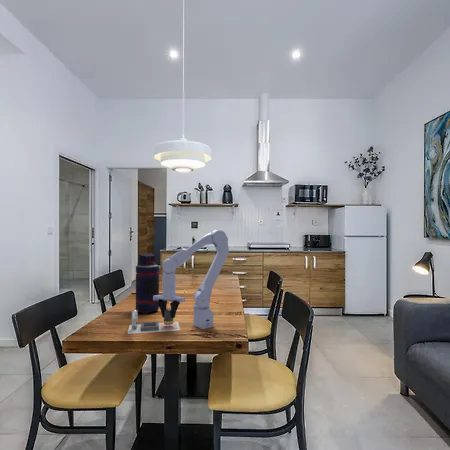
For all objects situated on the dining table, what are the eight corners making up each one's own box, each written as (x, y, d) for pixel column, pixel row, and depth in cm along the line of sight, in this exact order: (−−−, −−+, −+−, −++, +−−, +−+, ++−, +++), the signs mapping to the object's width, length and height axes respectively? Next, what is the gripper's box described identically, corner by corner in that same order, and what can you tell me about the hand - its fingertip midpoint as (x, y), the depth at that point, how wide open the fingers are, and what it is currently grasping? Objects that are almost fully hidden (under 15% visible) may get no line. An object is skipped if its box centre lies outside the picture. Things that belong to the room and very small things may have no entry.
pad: (176, 323, 144) (176, 323, 144) (177, 328, 137) (177, 328, 137) (160, 324, 142) (160, 324, 142) (160, 329, 135) (160, 329, 135)
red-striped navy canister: (163, 311, 167) (163, 254, 168) (144, 315, 159) (144, 255, 159) (148, 306, 177) (148, 252, 177) (129, 310, 168) (129, 254, 168)
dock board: (178, 323, 146) (178, 318, 146) (180, 332, 135) (180, 326, 135) (129, 326, 142) (129, 321, 142) (127, 335, 130) (127, 330, 130)
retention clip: (131, 327, 137) (131, 310, 137) (137, 327, 138) (137, 309, 138) (131, 337, 124) (131, 318, 124) (138, 337, 125) (138, 318, 125)
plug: (175, 323, 139) (175, 309, 139) (167, 325, 136) (167, 311, 136) (170, 321, 143) (170, 307, 143) (161, 323, 140) (161, 309, 140)
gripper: (187, 285, 141) (187, 316, 141) (158, 284, 145) (158, 313, 145) (180, 288, 134) (180, 320, 134) (150, 286, 139) (150, 317, 139)
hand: (168, 317), depth 139 cm, fingers closed on plug, 4 cm apart
